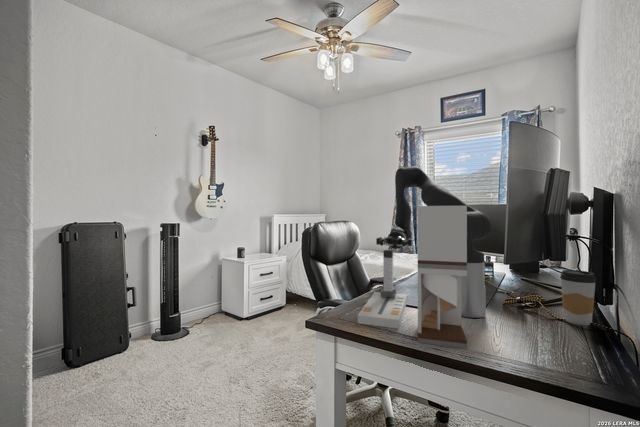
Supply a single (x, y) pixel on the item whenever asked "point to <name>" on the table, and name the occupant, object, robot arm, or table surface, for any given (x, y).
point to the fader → (388, 275)
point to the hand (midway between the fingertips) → (392, 243)
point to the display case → (441, 274)
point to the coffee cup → (578, 296)
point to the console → (383, 311)
